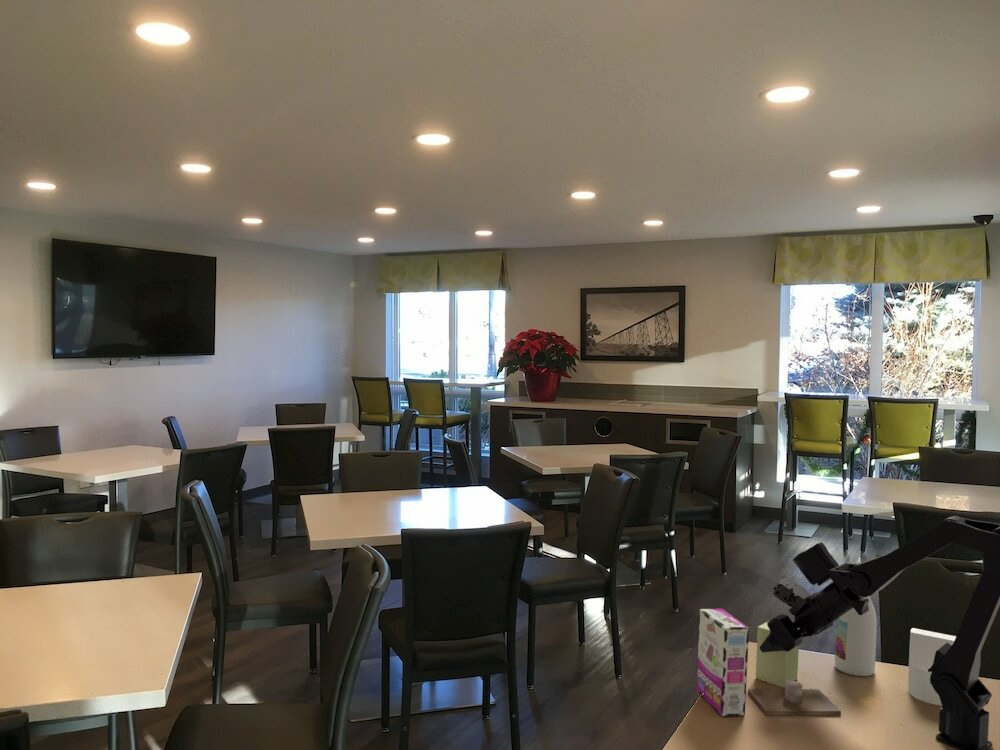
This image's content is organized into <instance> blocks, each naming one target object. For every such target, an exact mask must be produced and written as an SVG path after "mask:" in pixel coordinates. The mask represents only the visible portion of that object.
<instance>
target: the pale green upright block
mask: <svg viewBox="0 0 1000 750" xmlns="http://www.w3.org/2000/svg"><path fill="white" fill-rule="evenodd" d="M769 621H770V620H768V621H766V622H764V623H763V624H760V625H758V626H757V630H756V631H757V635H756V636H757V637H756V638H757V639H756V656H755V657H756V661H755V679H757V678H758V680H760V679H761V680H760V681H763V682H765V681H766V682H765V683H768V684H771V685H774V686H777V687H781V688H782V689H785V683H786V681H797V680H798V673H799V647H800V645H798V646H797V647H795V648H793V649H792V650H790V651H788V652H787V651H773V652H762V651H761V650H760V649H759V647H760V646H761V644H762V643H763V642H764V640H765V639H766V638H767V637H768V635H769V634H770V629H769V628H768V626H767V622H769ZM799 629H800V628H798V630H799Z"/></svg>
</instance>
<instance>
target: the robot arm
mask: <svg viewBox="0 0 1000 750" xmlns="http://www.w3.org/2000/svg"><path fill="white" fill-rule="evenodd" d="M953 543H955V544H959V545H962V546H964V547H966V548H969V549H971V550H974V551H977V552H980V553H983V554H982V569H981V571H982V572H981V576H980V577H979V581H978V582H977V585H976V586H975V587H976V588H975V590H974V592H973V595H972V596H971V600H970V601H969V605H968V607H967V609H966V612H965V613H964V617H963V620H962V621H961V624H960V626H959V629H958V631H957V633H956V635H955V636H956V638H955V641H954V643H953V645H952V646H951V645H950V644H949V643H945V644H944V645H943V646H942V647H940V648H939V649H938V650H937V651H936V653H935V657H934V662H933V665H932V666H931V667H930V668H929V669H928V672H932V673H931V675H930V683H931V685H932V687H933V689H934V690H935V691H936V693H937V694H938V695H939V698H940V701H941V704H942V705H941V708H939V712H938V713H939V714H938V731H939V733H937V734H935V739H936V740H939V741H941V742H943V743H946V744H948V745H950V746H952V747H954V748H956V749H959V750H987V749H989V748H991V747H993V742H992V741H990V740H989V726H990V725H989V724H990V712H989V711H987V710H985V709H984V707H985V706H988V704H989V702H990V700H991V699H992V696H993V695H992V693H991V691H990V690H989V689H988V688H987V686H986V685H985V684H984V683H983V682H982V681H981V679H980V678H979V674H980V669H981V656H982V655H981V653H982V649H983V646H984V644H985V641H986V640H987V636H988V635H989V633H990V632H989V631H990V629H991V627H992V625H993V623H994V620H995V617H996V616H997V614H998V610H999V609H1000V523H996V522H989V521H982V520H981V521H980V520H975V519H970V518H969V519H968V518H964V517H961V516H958V515H956V516H955V515H953V516H949V517H947V518H945V519H943V520H941V521H939V523H938V524H937V525H935V526H934V527H932V528H930V529H928V530H927V531H925V532H924V533H922V534H920V535H917V536H916V537H914V538H913V539H911V540H909V541H908V542H906V543H905V544H903V545H901V546H899V547H897V548H895V549H894V550H892V551H890V552H889V553H886V554H882V555H879V556H876V557H873V558H870V559H867V560H865V561H864V560H863V561H862V562H860V563H851V562H850V563H847V562H844V563H841V564H839V562H837V561H836V560H837V559H835V558H834V557H833V555H832V554H831V553H830V552H829V550H828V548H827V546H826V545H825V544H824V542H823V541H820V542H818V543H816V544H814V545H813V546H811V547H809V548H807V549H806V550H804V551H801V552H800V553H798V554H797V555H795V556H794V558H792V562H793V563H794V565H795V566H796V567H797V568H798V570H799V571H800V573H801V574H802V575H803V576H804V578H805V579H806V580H807V581H808V583H809V584H810V585H812V586H815V585H817V586H818V587H821V586H823V585H824V584H826V583H828V582H829V581H831V582H830V583H829V584H828V585H826V586H825V587H824V588H822V589H820V590H819V591H817V592H814V593H813V594H811V593H810V592H809V591H808V590H807V589H806V588H805V587H804V586H802V585H801V584H800V583H798V582H797V581H795V580H794V579H793V578H790V577H785V578H782V579H780V580H779V582H778V583H777V585H775V586H773V587H772V588H773V592H772V594H773V596H774V597H775V598H776V599H778V600H779V601H780V602H782V604H783V603H784V604H786V605H787V606H788V607H790V608H789V609H788V612H789V613H790V614H791V615H792V616H794V617H793V619H794V620H792V619H791V618H790V617H789V616H788V615H786V614H783V613H781V614H779V615H777V616H775V617H773V618H772V619H770V620H768V621H769V622H768V621H766V622H767V626H768V628H769V629H770V634H769V635H768V637H767V638H766V639H765V640H764V642H763V643H762V644H761V646H760V647H759V649H760V650H761V651H762V652H773V651H787V652H788V651H790V650H792V649H793V648H795V647H797V646H798V645H799V646H800V645H801V644H803V638H806V637H813V636H815V635H819V634H821V633H822V632H824V631H826V630H827V629H829V628H831V627H832V626H834V622H835V621H837V619H838V618H839V617H841V616H842V615H844V614H845V613H847V612H848V611H850V610H851V609H853V608H854V609H855V611H856V612H857V613H858V614H859V615H863V614H864V613H866V612H868V611H869V606H868V602H869V599H866V598H863V597H868V596H870V597H871V596H873V595H874V594H876V593H878V592H880V591H882V590H884V589H885V588H886V587H887V586H888V585H890V583H892V582H893V581H894V580H895V579H896V578H897V577H898V576H899V575H900V574H901V573H902V572H903V571H904V570H905V569H906V570H907V568H909V567H912V566H914V565H915V564H916V563H918V562H920V561H922V560H924V559H926V558H928V557H929V556H931V555H933V554H934V553H937V552H938V551H940V550H942V549H944V548H945V547H947V546H948V545H951V544H953ZM798 628H800V629H799V630H798Z"/></svg>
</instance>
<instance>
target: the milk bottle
mask: <svg viewBox="0 0 1000 750" xmlns="http://www.w3.org/2000/svg"><path fill="white" fill-rule="evenodd" d="M863 598H866V599H869V602H868V606H869V611H868V612H866V613H864V614H863V615H859V614H858V613H857V612H856V611H855V609H854V608H853V609H851V610H850V611H848V612H847V613H845V614H844V615H842V616H841V617H839V618H838V619H837V620H836V625H835V626H836V627H835V641H834V642H835V644H834V645H835V646H834V648H835V649H834V666H835V668H836V670H839V671H840V672H842V673H844V674H848V675H851V676H855V677H869V676H873V674H874V673H875V670H876V669H875V668H876V655H877V654H876V653H877V651H876V649H877V629H878V628H877V625H878V624H877V622H878V621H877V620H878V619H877V614H876V609H875V605H874V604H873V601H872V598H871V596H868V597H863Z"/></svg>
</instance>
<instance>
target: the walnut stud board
mask: <svg viewBox="0 0 1000 750" xmlns="http://www.w3.org/2000/svg"><path fill="white" fill-rule="evenodd" d="M747 694H748V695H749V696H750V698H752V700H753V701H754V702H755V703H756V705H757V706H758V707H759V708H760V709H761V711H762V712H763V713H764V714H765V716H842V711H841V709H839V708H838V706H836V705H835V703H833V702H832V701H831V700H830V699H829V698H828V697H827V695H826V694H824V693H823V692H822V691H821V690H820V689H819V688H810V689H808V688H803V684H802V683H801V682H799V681H797V680H795V681H786V683H785V688H748V689H747Z"/></svg>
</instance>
